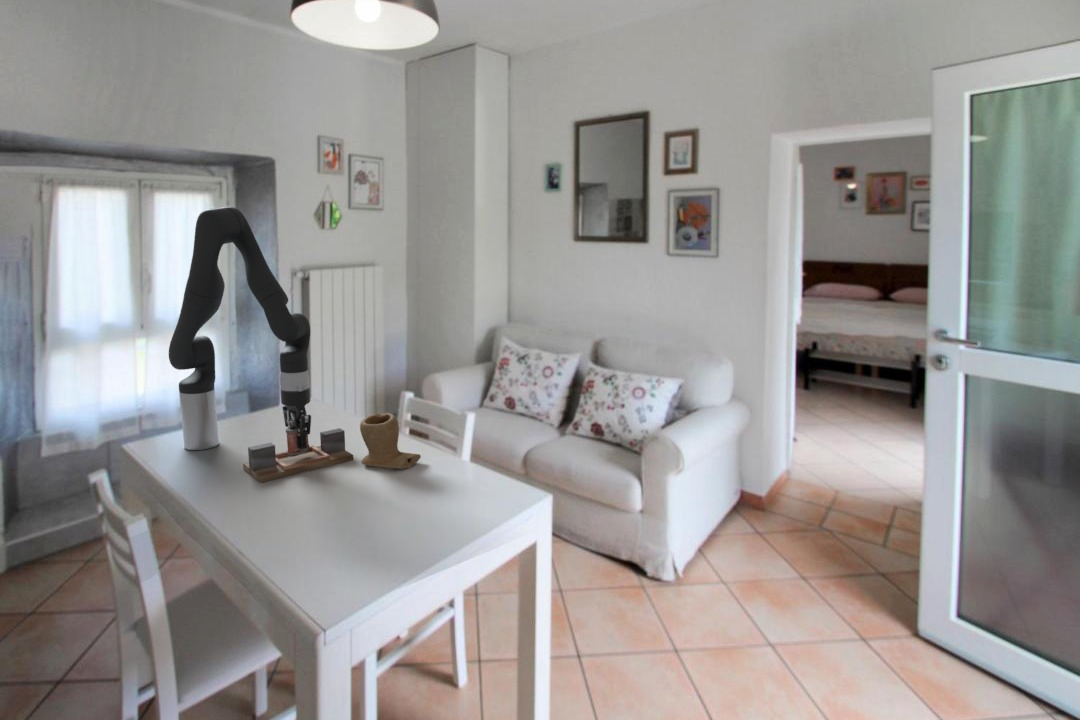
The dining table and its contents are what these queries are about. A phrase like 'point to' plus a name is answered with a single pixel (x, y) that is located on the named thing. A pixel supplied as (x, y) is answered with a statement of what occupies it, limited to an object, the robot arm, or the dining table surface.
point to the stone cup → (384, 443)
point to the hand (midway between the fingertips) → (298, 445)
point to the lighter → (294, 441)
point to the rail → (297, 457)
